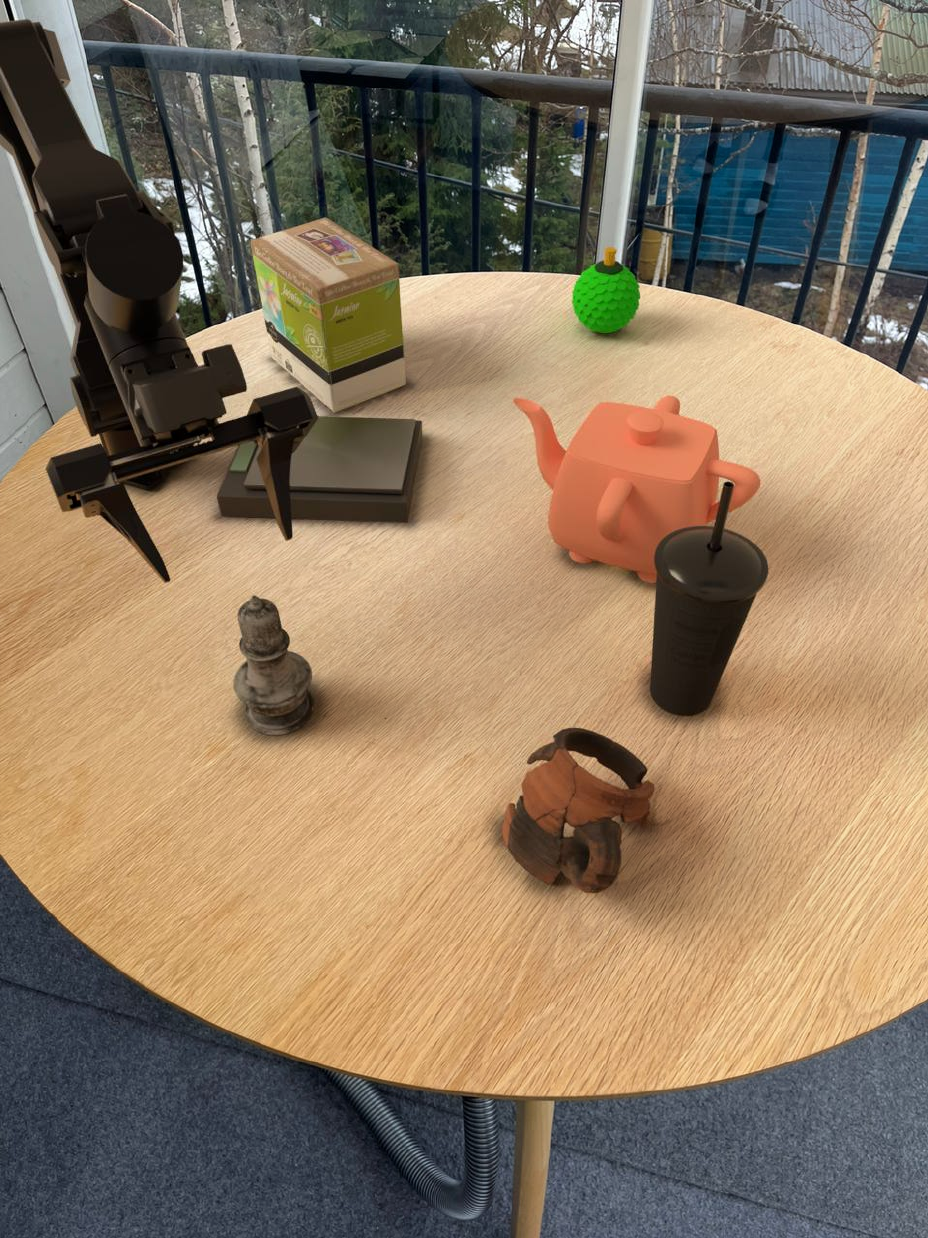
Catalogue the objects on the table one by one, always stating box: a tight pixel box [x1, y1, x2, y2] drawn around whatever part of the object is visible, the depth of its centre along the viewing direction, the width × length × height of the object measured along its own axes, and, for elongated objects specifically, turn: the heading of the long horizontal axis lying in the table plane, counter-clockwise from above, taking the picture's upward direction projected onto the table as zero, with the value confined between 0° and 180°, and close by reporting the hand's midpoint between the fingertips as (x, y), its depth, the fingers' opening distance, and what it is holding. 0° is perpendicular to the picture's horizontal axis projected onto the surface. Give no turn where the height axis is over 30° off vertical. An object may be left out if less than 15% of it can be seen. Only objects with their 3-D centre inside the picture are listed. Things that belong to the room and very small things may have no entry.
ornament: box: [571, 246, 641, 334], centre depth 112 cm, size 8×8×10 cm
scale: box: [216, 419, 424, 524], centre depth 94 cm, size 18×14×3 cm
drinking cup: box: [649, 481, 770, 717], centre depth 66 cm, size 8×8×20 cm
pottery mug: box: [501, 727, 656, 894], centre depth 62 cm, size 12×9×8 cm
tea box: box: [250, 217, 407, 413], centre depth 104 cm, size 15×10×15 cm, turn 36°
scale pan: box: [244, 415, 417, 494], centre depth 92 cm, size 15×12×1 cm
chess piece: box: [232, 594, 315, 737], centre depth 69 cm, size 6×6×12 cm
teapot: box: [512, 395, 761, 584], centre depth 82 cm, size 17×16×13 cm
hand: (230, 560), depth 68 cm, fingers open, 9 cm apart
